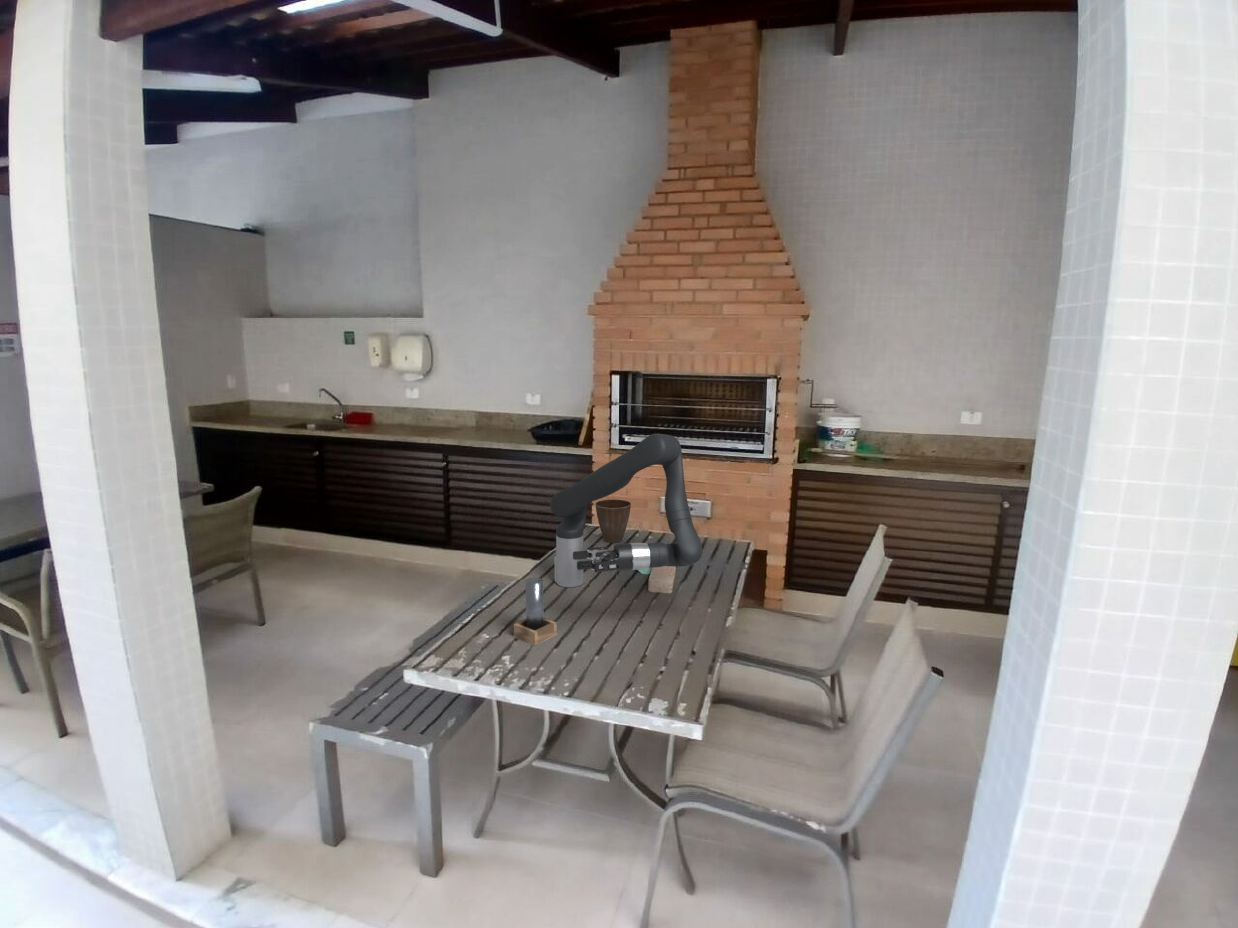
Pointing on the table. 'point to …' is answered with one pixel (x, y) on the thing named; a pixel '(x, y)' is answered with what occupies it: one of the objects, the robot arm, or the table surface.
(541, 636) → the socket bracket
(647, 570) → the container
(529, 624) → the rod
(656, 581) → the brick
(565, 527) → the robot arm
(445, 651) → the table surface
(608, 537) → the plant pot
